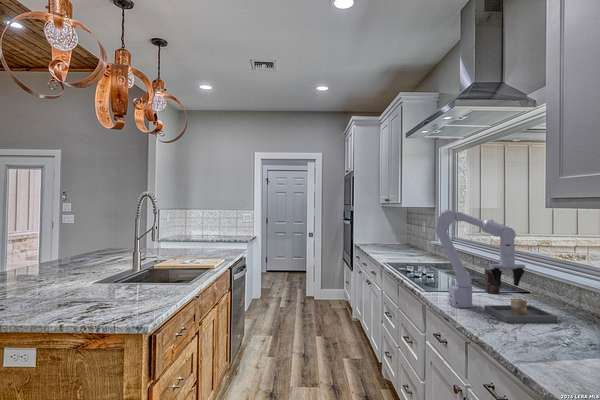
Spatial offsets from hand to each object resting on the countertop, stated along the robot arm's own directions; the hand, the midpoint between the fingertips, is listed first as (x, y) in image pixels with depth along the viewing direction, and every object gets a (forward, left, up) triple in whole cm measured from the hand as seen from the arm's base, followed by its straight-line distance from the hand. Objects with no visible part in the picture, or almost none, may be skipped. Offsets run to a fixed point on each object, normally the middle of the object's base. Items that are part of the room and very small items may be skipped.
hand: (507, 285), depth 161 cm
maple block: (-1, -10, -10) cm, 14 cm away
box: (+10, +31, -11) cm, 34 cm away
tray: (-1, -10, -10) cm, 15 cm away
